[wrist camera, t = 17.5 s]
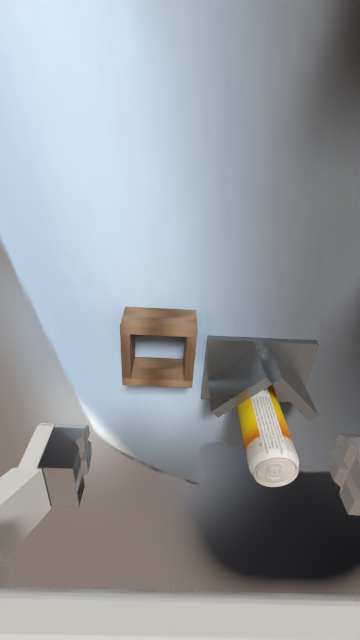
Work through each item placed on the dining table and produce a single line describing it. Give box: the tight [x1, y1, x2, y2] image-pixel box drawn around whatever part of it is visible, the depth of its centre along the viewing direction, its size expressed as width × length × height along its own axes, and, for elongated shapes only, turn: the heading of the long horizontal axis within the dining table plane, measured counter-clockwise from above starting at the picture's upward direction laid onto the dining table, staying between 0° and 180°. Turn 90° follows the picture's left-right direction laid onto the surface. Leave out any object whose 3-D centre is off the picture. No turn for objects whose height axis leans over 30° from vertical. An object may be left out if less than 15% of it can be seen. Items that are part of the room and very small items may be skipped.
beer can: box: [237, 384, 299, 487], centre depth 47 cm, size 6×6×15 cm
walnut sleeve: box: [120, 307, 197, 388], centre depth 48 cm, size 10×10×5 cm
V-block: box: [201, 336, 319, 421], centre depth 50 cm, size 16×12×8 cm
